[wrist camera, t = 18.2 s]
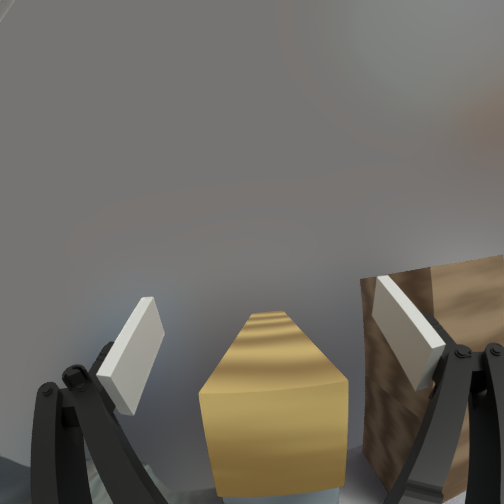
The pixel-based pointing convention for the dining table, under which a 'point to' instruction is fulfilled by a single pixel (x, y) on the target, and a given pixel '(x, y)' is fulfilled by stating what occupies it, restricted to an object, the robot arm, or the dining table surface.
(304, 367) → the ochre bar
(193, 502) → the dining table surface
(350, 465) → the dining table surface
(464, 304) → the tall tower
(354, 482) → the dining table surface
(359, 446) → the dining table surface
